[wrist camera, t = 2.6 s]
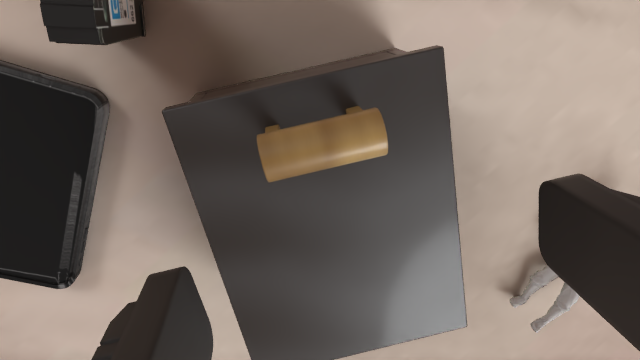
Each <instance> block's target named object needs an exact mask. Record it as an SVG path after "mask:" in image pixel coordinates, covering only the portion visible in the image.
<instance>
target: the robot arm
mask: <svg viewBox="0 0 640 360" xmlns="http://www.w3.org/2000/svg"><path fill="white" fill-rule="evenodd" d="M539 247H540V251H541V254H542V256H543V259H544V260H545V262H546V264H547V265H548V266H549V268H550V269H551V270H552V271H553V272H554V273H556V274H557V275H558V276H559V277H560V278H561V279H562V280H563V281H564V282H565V283H566V284H567V285H569V286H570V287H571V288H572V289H573V290H574V291H575V292H576V293H577V294H578V295H579V296H580V297H581V298H583V299H584V300H585V301H586V302H587V303H588V304H589V305H590V306H591V307H592V308H593V309H594V310H596V311H597V312H598V313H599V314H600V315H601V316H602V317H603V318H604V319H605V320H606V321H607V322H609V323H610V324H611V325H612V326H613V327H614V328H615V329H616V330H617V331H618V332H619V333H620V334H621V335H623V336H624V337H625V338H626V339H627V340H628V341H629V342H630V343H631V344H632V345H633V346H634V347H636V348H637V349H638V350H639V351H640V197H638V196H634V195H631V194H627V193H623V192H619V191H616V190H612V189H609V188H607V187H606V186H604V185H602V184H600V183H598V182H596V181H594V180H592V179H591V178H589V177H587V176H585V175H582V174H574V175H570V176H566V177H561V178H557V179H553V180H549V181H545V182H543V183H542V184H541V186H540V189H539ZM100 344H101V346H99V347H98V348H97V350H96V352H95V354H94V356H93V358H92V360H211V358H212V352H213V335H212V329H211V324H210V321H209V318H208V316H207V313H206V311H205V308H204V306H203V303H202V301H201V298H200V296H199V293H198V290H197V288H196V285H195V283H194V280H193V278H192V275H191V273H190V271H189V270H188V269H187V268H186V267H179V268H175V269H171V270H167V271H163V272H158V273H154V274H151V275H149V276H148V278H147V280H146V282H145V284H144V286H143V288H142V291H141V293H140V295H139V297H138V300H137V301H136V302H132V303H128V304H127V305H126V306H125V307H124V309H123V310H122V311H121V312H120V313H119V314H118V315H117V316H116V317H115V318H114V319H113V320H112V321H111V322H110V324H109V326H108V328H107V330H106V332H105V334H104V336H103V338H102V340H101V342H100Z"/></svg>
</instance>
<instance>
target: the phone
mask: <svg viewBox="0 0 640 360" xmlns="http://www.w3.org/2000/svg"><path fill="white" fill-rule="evenodd" d="M109 111H110V105H109V102H108V99H107V98H106V97H105V95H104V94H103V93H101V92H100V91H99V90H97V89H94V88H91V87H88V86H85V85H81V84H78V83H75V82H71V81H68V80H65V79H61V78H58V77H55V76H51V75H48V74H45V73H41V72H38V71H35V70H31V69H28V68H25V67H21V66H18V65H15V64H11V63H8V62H4V61H1V60H0V278H4V279H9V280H14V281H19V282H24V283H29V284H35V285H40V286H45V287H50V288H55V289H63V288H67V287H69V286H71V284H72V283H73V282H74V281H75V279H76V278H77V277H78V275H79V274H80V271H81V267H82V261H83V255H84V250H85V244H86V239H87V233H88V228H89V222H90V217H91V211H92V206H93V200H94V195H95V189H96V183H97V178H98V172H99V167H100V161H101V156H102V150H103V145H104V139H105V134H106V128H107V123H108V117H109Z"/></svg>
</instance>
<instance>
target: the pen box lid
mask: <svg viewBox="0 0 640 360" xmlns="http://www.w3.org/2000/svg"><path fill="white" fill-rule="evenodd" d="M162 114H163V116H164V119H165V122H166V125H167V127H168V130H169V133H170V136H171V138H172V141H173V144H174V147H175V150H176V152H177V155H178V158H179V161H180V163H181V166H182V169H183V172H184V175H185V177H186V180H187V183H188V186H189V188H190V191H191V194H192V197H193V199H194V202H195V205H196V208H197V211H198V213H199V216H200V219H201V222H202V224H203V227H204V230H205V233H206V235H207V238H208V241H209V244H210V247H211V249H212V252H213V255H214V258H215V260H216V263H217V266H218V269H219V271H220V274H221V277H222V280H223V283H224V285H225V288H226V291H227V294H228V296H229V299H230V302H231V305H232V307H233V310H234V313H235V316H236V319H237V321H238V324H239V327H240V330H241V332H242V335H243V338H244V341H245V344H246V346H247V349H248V352H249V355H250V357H251V360H335V359H339V358H343V357H347V356H351V355H355V354H359V353H363V352H367V351H371V350H375V349H379V348H383V347H387V346H391V345H395V344H399V343H403V342H407V341H411V340H416V339H420V338H424V337H428V336H432V335H436V334H440V333H444V332H448V331H452V330H456V329H460V328H464V327H467V318H466V307H465V295H464V283H463V271H462V259H461V248H460V236H459V224H458V212H457V201H456V189H455V177H454V165H453V154H452V142H451V130H450V118H449V107H448V95H447V83H446V71H445V60H444V48H443V47H442V46H437V45H436V46H432V47H428V48H423V49H419V50H415V51H410V52H406V53H401V54H397V55H393V56H388V57H384V58H380V59H375V60H371V61H366V62H362V63H358V64H353V65H349V66H345V67H340V68H336V69H331V70H327V71H323V72H318V73H314V74H310V75H305V76H301V77H296V78H292V79H288V80H283V81H279V82H274V83H270V84H266V85H261V86H257V87H253V88H248V89H244V90H239V91H235V92H231V93H226V94H222V95H218V96H213V97H209V98H204V99H200V100H196V101H191V102H187V103H183V104H178V105H174V106H169V107H166V108H165V109H164V110H163V111H162Z"/></svg>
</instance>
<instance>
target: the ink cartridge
mask: <svg viewBox="0 0 640 360" xmlns="http://www.w3.org/2000/svg"><path fill="white" fill-rule="evenodd" d="M40 2H41V3H40V7H41V12H42V17H43V22H44V26H46V28H47V32H48V37H49V41H50V42H56V43H69V44H93V45H108V44H112V43H116V42H120V41H124V40H128V39H132V38H136V37H140V36H144V37H145V36H146V35H145V23H144V11H143V0H40Z"/></svg>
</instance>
